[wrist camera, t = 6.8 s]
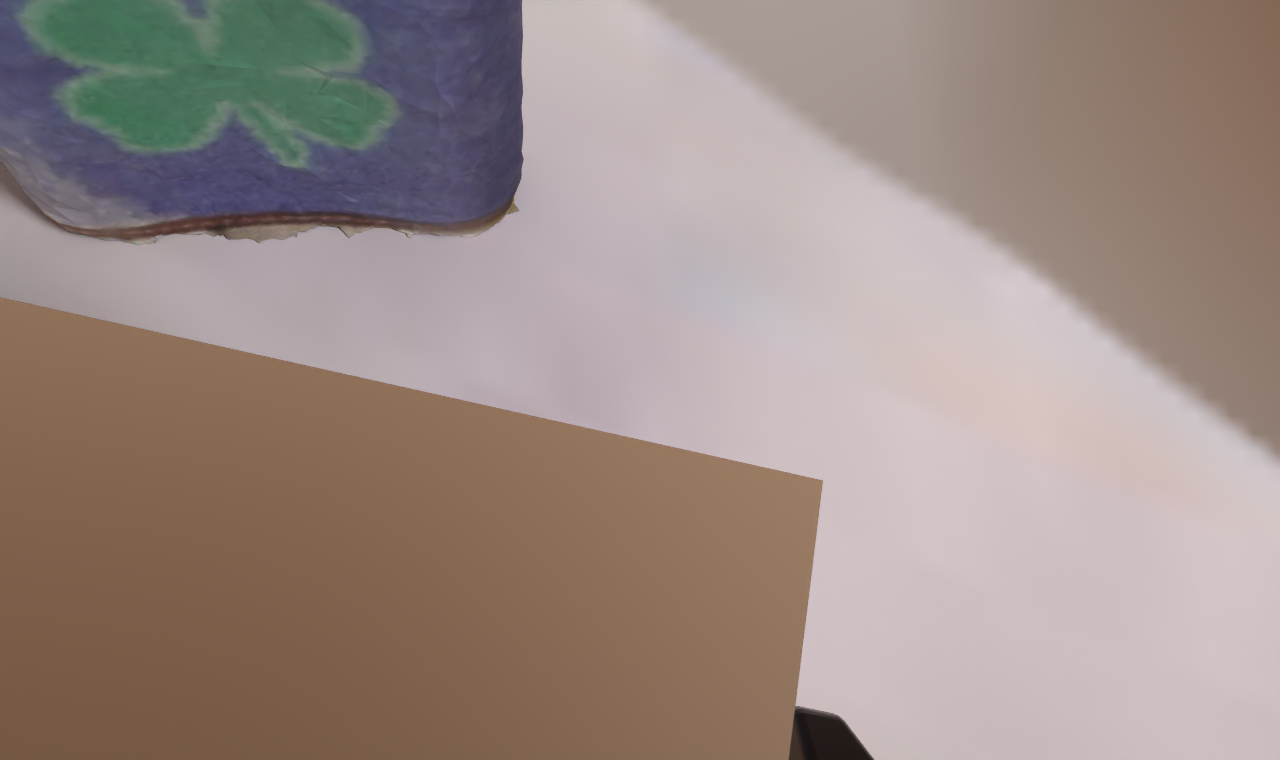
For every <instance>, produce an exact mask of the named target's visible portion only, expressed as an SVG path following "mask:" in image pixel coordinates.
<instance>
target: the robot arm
mask: <svg viewBox="0 0 1280 760" xmlns="http://www.w3.org/2000/svg"><path fill="white" fill-rule="evenodd" d="M789 760H874V759H873V757H872V756H871V755H870V753H869V752H868V751H867V750H866V748H865V747H864V746H863V744H862V743H861V742H860V740H859V739H858V738H857V737H856V735H855V734H854V733H853V731H852V730H851V729H850V728H849V726H848V725H847V724H846V722H845V721H844V720H843V719H842V718H840V717H839V716H838V715H835V714H833V713H828V712H824V711H819V710H814V709H809V708H805V707H800V706H796V707H795V712H794V720H793V728H792V736H791V744H790V752H789Z"/></svg>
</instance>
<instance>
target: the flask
mask: <svg viewBox="0 0 1280 760" xmlns="http://www.w3.org/2000/svg"><path fill="white" fill-rule="evenodd" d="M522 41H523V30H522V0H0V162H1V163H2V164H3V165H4V166H5V168H6V169H7V170H8V171H9V173H10V174H11V175H12V176H13V178H14V179H15V180H16V181H17V183H18V184H19V186H20V187H21V189H22V190H23V192H24V193H25V194H26V195H27V196H28V197H29V198H30V199H31V200H32V201H33V202H34V203H35V204H36V205H37V206H38V208H39V209H40V210H41V211H42V212H43V213H44V214H45V215H46V216H47V217H48V219H49V220H51V221H52V222H54V223H56V224H57V225H59V226H61V227H62V228H64V229H66V230H67V231H69V232H73V233H77V234H84V235H88V236H93V237H95V238H99V239H103V240H121V241H124V242H126V241H128V242H131V243H135V244H141V243H147V244H150V243H156V241H157V238H156V237H154V236H156V235H159V234H161V233H163V234H164V235H169V234H174V233H178V234H202V233H206V234H209V235H212V236H214V237H215V236H216V235H218V234H219V235H223V234H224V235H225V236H226V238H227V239H244V238H248V239H254V240H256V241H257V242H258V243H260V242H262V241H264V240H266V239H270V238H274V239H282V240H284V239H286V238H288V237H290V236H292V235H294V236H295V237H297V231H299V232H306V231H307V230H309V229H312V228H316V227H317V226H318V225H321V226H326V225H328V226H332V227H340V228H341V230H342V231H343V232H345V234H346V235H347V237H348V238H349V237H351V236H352V235H353V234H354V233H361V232H362V231H365V230H368V229H372V228H373V227H379V228H389V227H390V228H392V229H395V230H397V231H400V232H404V233H407V236H408V237H410V238H411V236H412V235H413V234H421V233H423V234H428V233H432V234H436V235H440V236H442V235H460V236H464V237H474V236H476V235H479V234H480V233H482V231H483V232H484V231H486V230H488V229H489V228H491V227H492V226H494V225H495V223H496V222H497V223H498V222H500V221H501V220H502V219H503V217H504V216H505V215H507V214H510V213H513V212H517V211H519V210H518V209H517V207H516V206H515V204H514V195H515V192H516V190H517V187H518V185H519V183H520V180H521V168H522V164H523V160H524V159H523V156H522V152H521V150H522V141H523V121H522V110H521V105H522V95H523V85H522V75H521V59H522ZM126 243H127V242H126Z"/></svg>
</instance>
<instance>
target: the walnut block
mask: <svg viewBox="0 0 1280 760" xmlns="http://www.w3.org/2000/svg"><path fill="white" fill-rule="evenodd" d="M822 483H823V480H818V479H814V478H809V477H805V476H800V475H796V474H791V473H787V472H782V471H778V470H773V469H769V468H764V467H760V466H755V465H751V464H746V463H742V462H737V461H733V460H728V459H724V458H719V457H715V456H710V455H706V454H701V453H697V452H692V451H688V450H683V449H679V448H674V447H670V446H665V445H661V444H656V443H652V442H647V441H643V440H638V439H634V438H629V437H625V436H620V435H616V434H611V433H607V432H602V431H598V430H593V429H589V428H584V427H580V426H575V425H571V424H566V423H562V422H557V421H553V420H548V419H544V418H539V417H535V416H531V415H526V414H522V413H517V412H513V411H508V410H504V409H499V408H495V407H490V406H486V405H481V404H477V403H472V402H468V401H463V400H459V399H454V398H450V397H445V396H441V395H436V394H432V393H427V392H423V391H418V390H414V389H409V388H405V387H400V386H396V385H391V384H387V383H382V382H378V381H373V380H369V379H364V378H360V377H355V376H351V375H346V374H342V373H337V372H333V371H328V370H324V369H319V368H315V367H310V366H306V365H301V364H297V363H292V362H288V361H283V360H279V359H274V358H270V357H265V356H261V355H256V354H252V353H247V352H243V351H238V350H234V349H229V348H225V347H220V346H216V345H211V344H207V343H203V342H198V341H194V340H189V339H185V338H180V337H176V336H171V335H167V334H162V333H158V332H153V331H149V330H144V329H140V328H135V327H131V326H126V325H122V324H117V323H113V322H108V321H104V320H99V319H95V318H90V317H86V316H81V315H77V314H72V313H68V312H63V311H59V310H54V309H50V308H45V307H41V306H36V305H32V304H27V303H23V302H18V301H14V300H9V299H5V298H0V760H789V752H790V744H791V736H792V728H793V720H794V712H795V703H796V695H797V687H798V679H799V671H800V663H801V655H802V646H803V638H804V630H805V622H806V614H807V606H808V597H809V589H810V581H811V573H812V565H813V557H814V549H815V540H816V532H817V524H818V516H819V508H820V500H821V491H822Z"/></svg>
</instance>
